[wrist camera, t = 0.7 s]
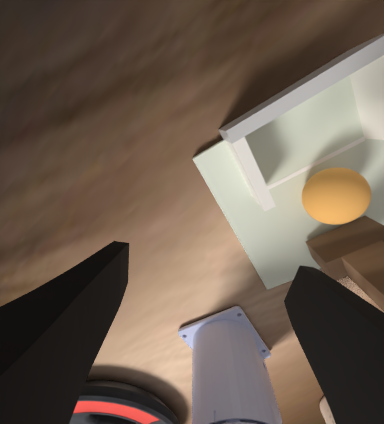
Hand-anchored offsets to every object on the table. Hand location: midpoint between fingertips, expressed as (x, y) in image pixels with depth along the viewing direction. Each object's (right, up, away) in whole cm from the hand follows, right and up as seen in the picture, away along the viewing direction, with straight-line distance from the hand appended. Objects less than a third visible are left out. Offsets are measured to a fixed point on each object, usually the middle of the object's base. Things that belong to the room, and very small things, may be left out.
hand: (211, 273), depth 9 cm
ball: (+9, +4, +6) cm, 12 cm away
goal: (+7, +8, +7) cm, 13 cm away
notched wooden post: (+12, 0, +9) cm, 15 cm away
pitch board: (+9, +4, +9) cm, 14 cm away
